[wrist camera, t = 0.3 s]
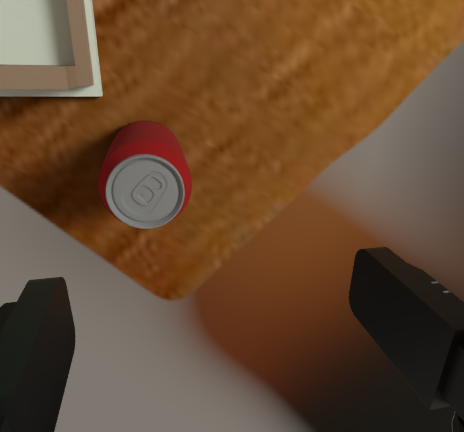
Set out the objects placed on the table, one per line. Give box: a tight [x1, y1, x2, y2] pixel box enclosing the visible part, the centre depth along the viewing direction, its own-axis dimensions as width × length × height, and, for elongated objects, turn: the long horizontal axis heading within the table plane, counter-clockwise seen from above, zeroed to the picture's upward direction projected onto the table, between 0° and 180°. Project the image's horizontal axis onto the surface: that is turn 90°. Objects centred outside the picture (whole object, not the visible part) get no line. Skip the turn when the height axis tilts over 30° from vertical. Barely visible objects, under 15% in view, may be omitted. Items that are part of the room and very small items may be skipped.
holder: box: [0, 0, 103, 96], centre depth 26 cm, size 13×11×7 cm
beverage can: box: [98, 121, 192, 229], centre depth 31 cm, size 7×7×12 cm
